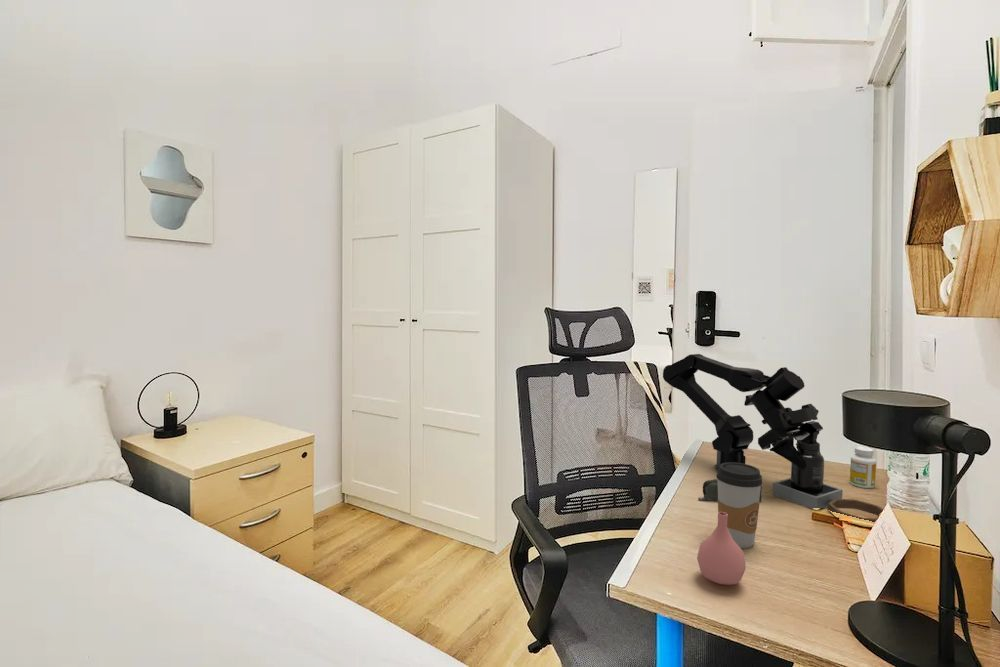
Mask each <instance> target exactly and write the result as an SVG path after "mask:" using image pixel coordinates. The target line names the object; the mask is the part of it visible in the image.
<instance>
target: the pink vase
mask: <svg viewBox="0 0 1000 667" xmlns="http://www.w3.org/2000/svg"><path fill="white" fill-rule="evenodd" d="M727 518H728V514H727V513H725V512H718V511H717V525H716V527H715V529H714V530H713V531H712V533H711V535H709V536H708V537H707V538H706V539H704V540H703V541H701V542H700V544H699V548H698V551H697V557H696V560H697V563H698V567H699V570H700V572H701V574H702V576H703V577H705V578H706V579H707V580H710V581H712V582H714V583H715V584H718V585H722V586H723V585H724V586H725V585H736V584H738V583H740V582H741V581H742V579H743V576H744V573H745V571H746V570H747V569H746V567H747V566H746V559H745V553H744V551H743V548H740V547H739V546H738V545H737V544H736V542H735V541H734V540H733V539H732V536H731V534H730V532H729V530H728V528H727Z"/></svg>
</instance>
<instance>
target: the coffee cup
mask: <svg viewBox="0 0 1000 667" xmlns="http://www.w3.org/2000/svg"><path fill="white" fill-rule="evenodd" d="M715 476H716V479H717V481H718V501H717V513H718V512H725V513H727V514H728V518H727V528H728V530H729V532H730V534H731V536H732V539H733V540H734V541H735V542H736V544H737V545H738V546H739V547H740V548H741V549H748V548H751V547H753V545H754V544H755V541H756V540H755V539H756V531H757V527H758V520H759V518H758V517H759V511H760V510H759V509H760V502H759V499H760V490H761V485H763V477H762V475H761V471H760V469H759V468H758V467H756V466H753V465H750V464H747V463H745V464H743V463H735V462H727V463H722V464H720V466H719V469H716V475H715Z"/></svg>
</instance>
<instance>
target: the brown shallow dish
mask: <svg viewBox="0 0 1000 667" xmlns="http://www.w3.org/2000/svg"><path fill="white" fill-rule="evenodd" d="M839 508H843V509H856V510H860V511H864V512H867V513H872V514H874V515H876V516H878V517H879V514H880V513H881V512H882V511H883V509H884V508H882V507H881V506H879V505H877V504H873V503H870V502H866V501H862V500H859V499H853V498H842V499H834V500H832V501H831V502H829V503H828V507H827V511H828V510H830V511H832V512H836V513H840V514H844V515H847V516H852V517H856V518H859V519H864V520H869V521H872V522H875V521H876V520H877V519H878V518H877V517H862V516H858V515H855V514H852V513H849V512H844V511H842V510H840V509H839Z"/></svg>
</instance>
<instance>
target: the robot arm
mask: <svg viewBox="0 0 1000 667" xmlns="http://www.w3.org/2000/svg"><path fill="white" fill-rule="evenodd" d="M698 371H699V372H703V373H705V374H709V375H711V376H713V377H717V378H719V379H721V380H723V381H726V382H727V383H728V384H729V385H730V386H731V387H732V388H734V389H736V390H737V391H739V392H741V393H748V392H754V393H752V394H748V395H745V399H744V405H743V406H746V407H747V406H754V407H755V409H756V410H757V411H758V413H759V414H760V416H761V417H762V420H761V423H762V424H763V425H768V426H769V428H770V429H769V430H768V431H766V432H765V433H763V434H762V435H760V437H758V438H757V444H758V446H759V447H760V449H761V450H762V451H764V450H769V452H773V453H775V454H776V455H779V456H780V457H782V458H784V459H786V460H787V461H789V463H791V462H792V463H793V464H795V465H797V466H798V467H800V468H801V469H804V468H806V465H805V463H804V461H803V459H802V458H801V456H800V455H799V453H798V452H797V448H796V446H797V441H798V440H811V441H815V442H818V441H817V439H818V435H819V434H820V432H821V431H822V430H824V428H823V425H821V424H820V422H819V421H818V419H819V418H818V414H819V409H817V408H816V406H814V405H813V404H812V403H807V404H803V405H801V408H800V409H796V410H793V409H792V408H791V407H788V406H787V407H785V406H784V405H783V403H782V402H781V401H783V402H787V401H788V400H790V399H791V398H792V397H793V396H795V395H796V394H797V393H799V392H800V391H801V390H803V389H805V383H804V382H805V381H804V380H803V379H802V377H801V376H800V375H798V374H796V373H795V372H793V371H791V370H789V369H788V367H787V366H785V367H780V368H779V369H777V371H776V372H775V373H774V374H773V375H771V376H770V375H766V374H764V372H763V371H762V370H759V369H757V368H756V369H755V368H749V367H738V366H734V365H732V364H731V365H730V364H727V363H724V362H722V361H720V360H715V359H713V358H710V357H708V356H705V355H703V354H701V353H694V354H691V353H690V354H688V355H687V356H685V357H684V358H681V359H680V360H678V361H676V362H675V361H674V363H672V364H668V365H665V367H663V370H662V378H663V380H664V381H665V382H666V384H668V385H670V386H671V387H672V388H675V389H676V390H679V391H681V392H682V393H684V394H685V395H686V396H687V398H688V399H689V400H691V402H692V403H693V404H694V406H696V407H697V408H698V409H699V410H700V411H701V412H702V413H703V414H704V415H705V416H706V418H708V420H709V421H710V422H711V423H712V424H713V425H714V427H715V428H714V429H715V432H716V435H717V437H715V438H714V440H712V441H711V444H712V448H713V450H714V451H716V464H714V466H713V467H714V468H716V470H718V469H719V466H720V464H722V463H727V462H735V463H743V464H746V460H747V458H746V456H745V455H744V454H745V451H744V450H748V449H749V446H750V445H751V444H752V443H753V441H754V430H753V429H752V428H751V427H750V426H751V424H750V423H748V422H746V421H745V419H744V418H743V416H741V415H740V414H739V415H738V414H737V415H730V414H729V413H727V411H725V409H723V407H721V406H720V404H719V403H718V402H717V401H716V400H714V398H713V397H712V396H711V395H710V394H708V392H706V390H704V388H702V386H701V385H700V384H699V383H697V380H696V377H695V374H696V373H698ZM816 420H817V421H816ZM794 441H796V443H795V444H794ZM771 445H772V447H771ZM821 453H822V452H821V451H820V452H819V454H821ZM821 455H822V454H821Z"/></svg>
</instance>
